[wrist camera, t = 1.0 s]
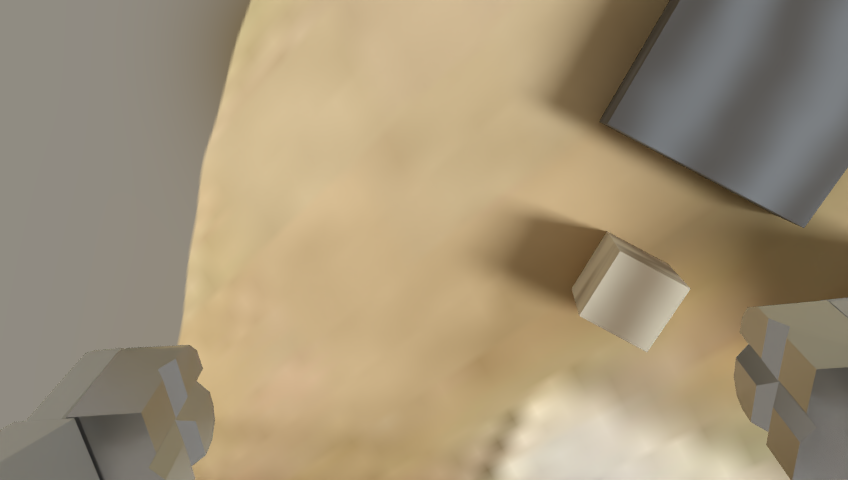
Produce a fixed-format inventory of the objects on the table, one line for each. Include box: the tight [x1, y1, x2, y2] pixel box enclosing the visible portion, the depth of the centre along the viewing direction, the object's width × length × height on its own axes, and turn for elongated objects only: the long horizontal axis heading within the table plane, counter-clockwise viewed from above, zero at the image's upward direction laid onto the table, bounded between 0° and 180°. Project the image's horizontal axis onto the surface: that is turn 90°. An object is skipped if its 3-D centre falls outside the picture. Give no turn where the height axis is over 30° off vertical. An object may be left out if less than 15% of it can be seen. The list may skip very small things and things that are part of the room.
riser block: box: [599, 0, 848, 228], centre depth 39 cm, size 14×14×4 cm
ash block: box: [572, 232, 690, 352], centre depth 42 cm, size 5×5×6 cm
